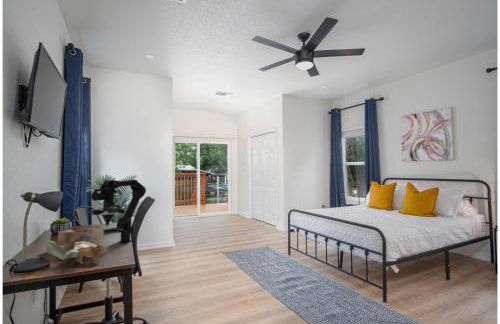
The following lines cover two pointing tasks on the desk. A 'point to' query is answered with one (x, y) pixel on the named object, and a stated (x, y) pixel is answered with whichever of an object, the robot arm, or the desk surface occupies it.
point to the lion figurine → (90, 253)
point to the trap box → (61, 251)
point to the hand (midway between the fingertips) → (107, 225)
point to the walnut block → (67, 239)
